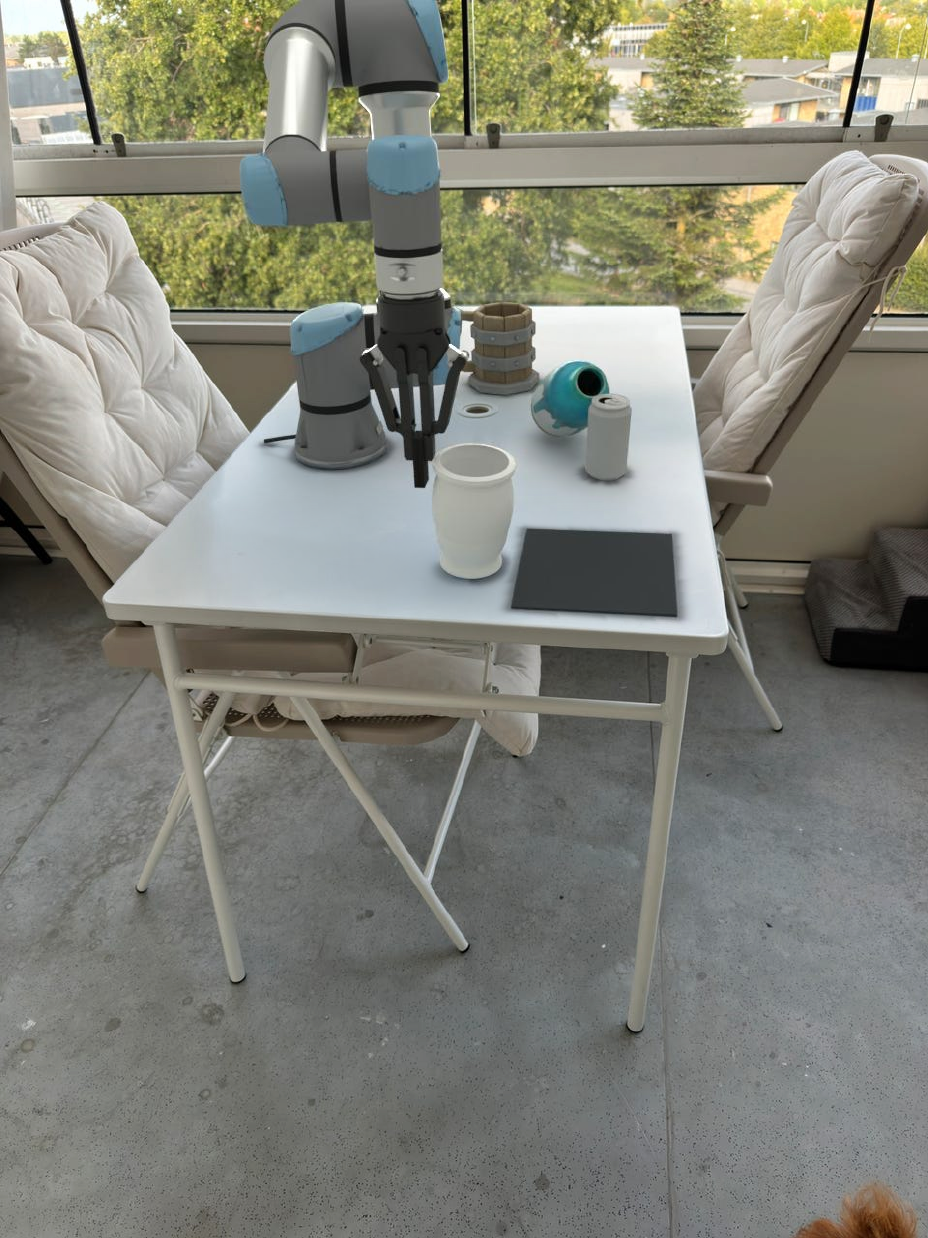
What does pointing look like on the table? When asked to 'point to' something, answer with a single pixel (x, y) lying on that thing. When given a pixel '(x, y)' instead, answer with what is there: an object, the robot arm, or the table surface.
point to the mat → (596, 572)
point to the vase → (567, 397)
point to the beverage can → (608, 436)
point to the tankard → (501, 348)
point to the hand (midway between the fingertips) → (421, 483)
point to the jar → (472, 507)
